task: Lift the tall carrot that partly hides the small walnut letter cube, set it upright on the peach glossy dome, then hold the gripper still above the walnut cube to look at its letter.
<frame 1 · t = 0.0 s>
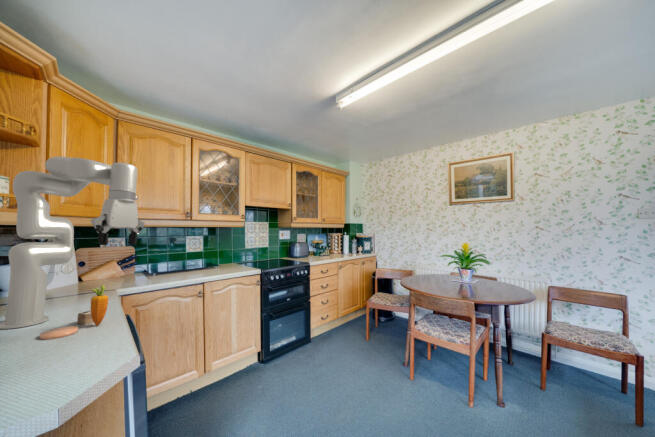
hand: (118, 244, 87), 31 cm above the countertop, tool pointing down, fingers open, 9 cm apart
peach glossy dome: (59, 334, 84), on the countertop
letter cube: (86, 323, 96), on the countertop
carrot: (97, 326, 93), on the countertop
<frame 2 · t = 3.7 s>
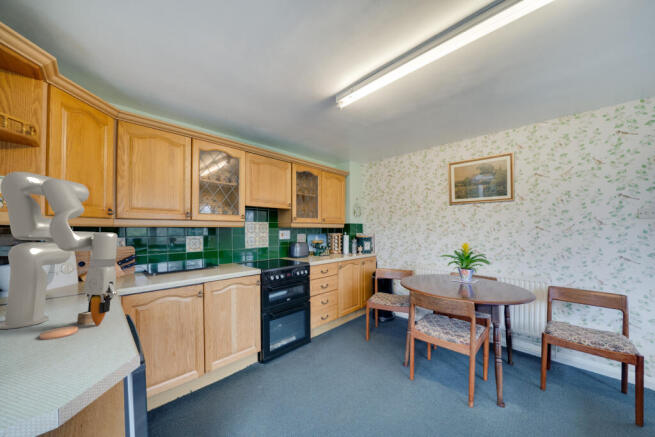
hand: (98, 311, 93), 5 cm above the countertop, tool pointing down, fingers closed on carrot, 5 cm apart
carrot: (97, 326, 93), on the countertop, touching gripper
everything else where it was.
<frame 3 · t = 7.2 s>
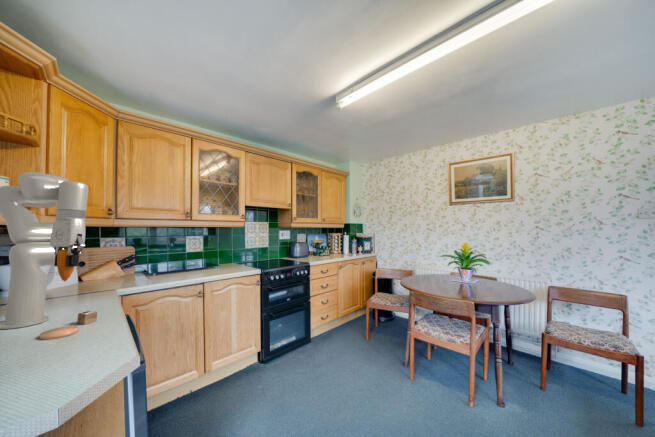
hand: (66, 265, 87), 24 cm above the countertop, tool pointing down, fingers closed on carrot, 5 cm apart
carrot: (64, 281, 86), point 18 cm above the countertop, touching gripper
everything else where it was.
when the fingers open (8 cm above the countertop, at t = 10.8 s): carrot drops 1 cm, resting on peach glossy dome.
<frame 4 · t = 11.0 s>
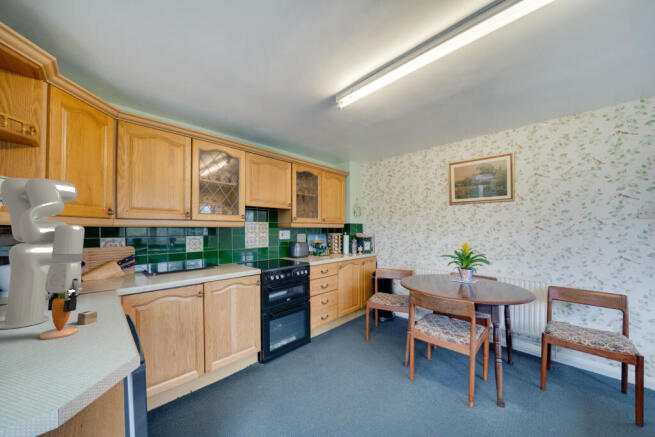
hand: (61, 310, 85), 8 cm above the countertop, tool pointing down, fingers open, 7 cm apart
carrot: (59, 331, 85), point 1 cm above the countertop, touching peach glossy dome
everything else where it was.
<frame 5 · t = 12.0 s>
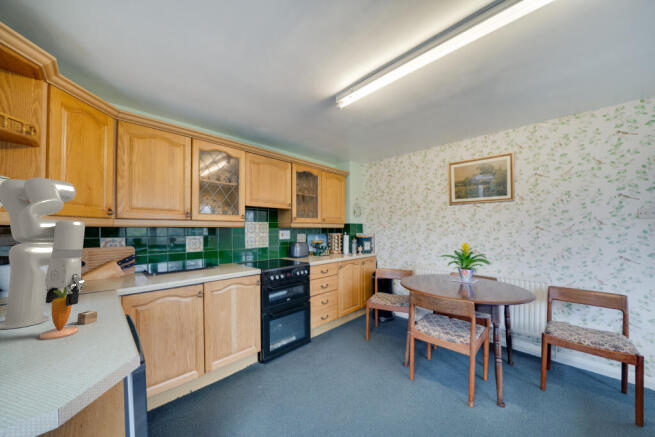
hand: (61, 303, 86), 10 cm above the countertop, tool pointing down, fingers open, 9 cm apart
nothing on the countertop moved.
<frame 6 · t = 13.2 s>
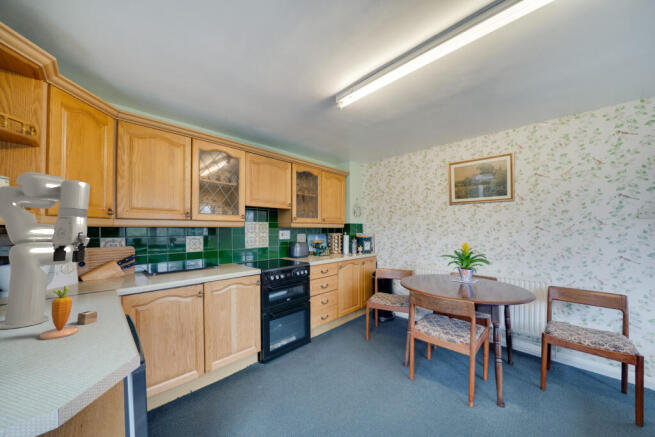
hand: (68, 261, 87), 25 cm above the countertop, tool pointing down, fingers open, 9 cm apart
nothing on the countertop moved.
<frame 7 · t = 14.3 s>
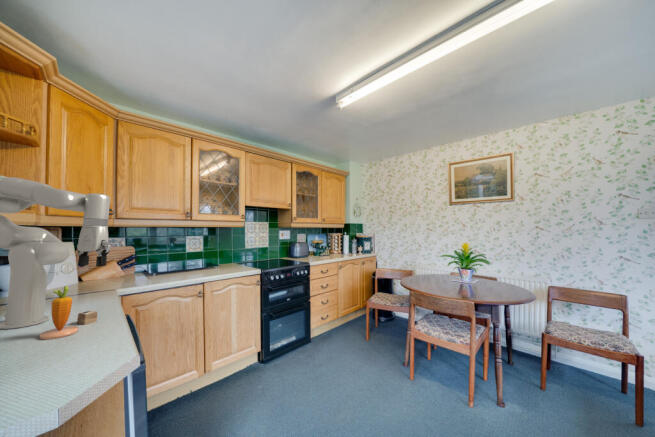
hand: (92, 265, 98), 22 cm above the countertop, tool pointing down, fingers open, 9 cm apart
nothing on the countertop moved.
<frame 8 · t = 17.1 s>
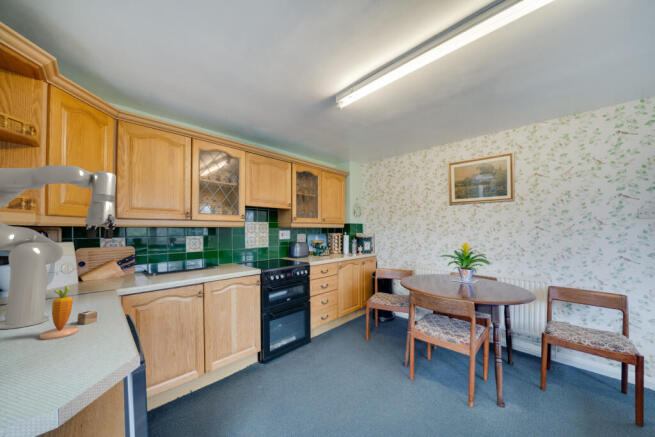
hand: (99, 238, 105), 33 cm above the countertop, tool pointing down, fingers open, 9 cm apart
nothing on the countertop moved.
at the end: carrot inside the target area on the peach glossy dome (0.2 cm from its centre), point 1.0 cm above the peach glossy dome's base; carrot tilted 1°; letter cube moved 0.1 cm from its start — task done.
